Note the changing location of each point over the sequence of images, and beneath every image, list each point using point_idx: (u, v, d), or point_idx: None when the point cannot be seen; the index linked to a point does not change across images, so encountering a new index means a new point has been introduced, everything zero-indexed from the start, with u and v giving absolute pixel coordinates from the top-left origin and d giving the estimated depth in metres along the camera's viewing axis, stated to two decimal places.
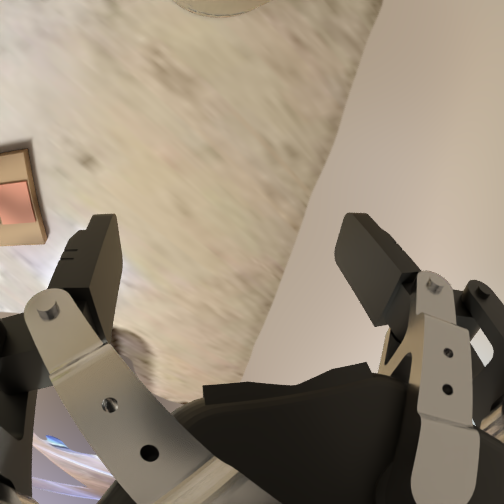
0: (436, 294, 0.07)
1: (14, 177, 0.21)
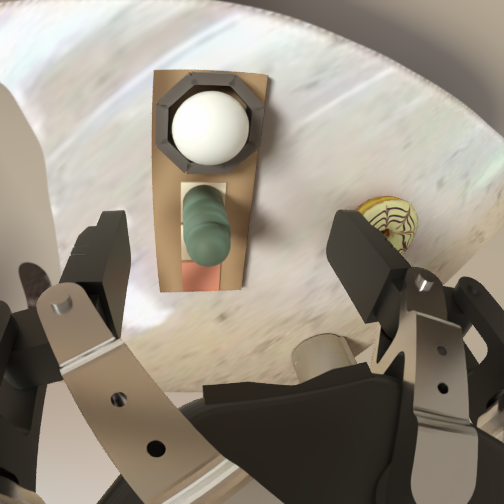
0: (425, 290, 0.07)
1: (223, 280, 0.37)
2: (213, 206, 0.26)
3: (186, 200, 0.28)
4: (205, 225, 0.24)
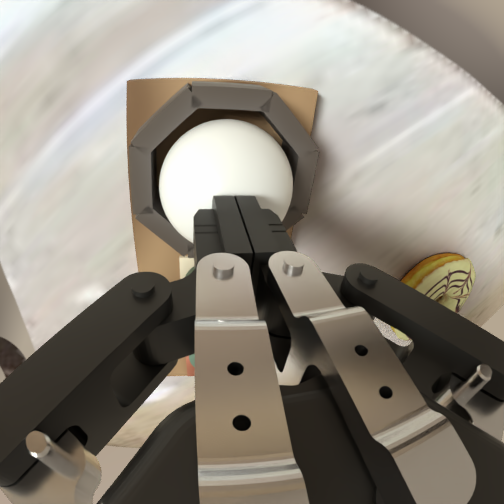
0: (287, 276, 0.07)
1: None
2: None
3: None
4: None
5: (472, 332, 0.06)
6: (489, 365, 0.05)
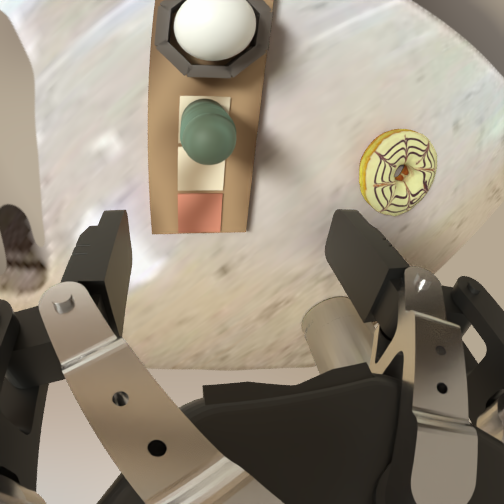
0: (424, 290, 0.07)
1: (225, 219, 0.32)
2: (217, 106, 0.21)
3: (186, 109, 0.23)
4: (207, 113, 0.19)
5: None
6: None
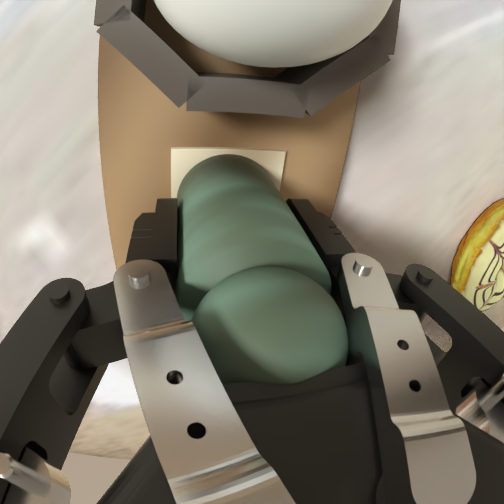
0: (360, 276, 0.07)
1: None
2: (278, 210, 0.08)
3: (187, 189, 0.10)
4: (271, 288, 0.06)
5: None
6: None
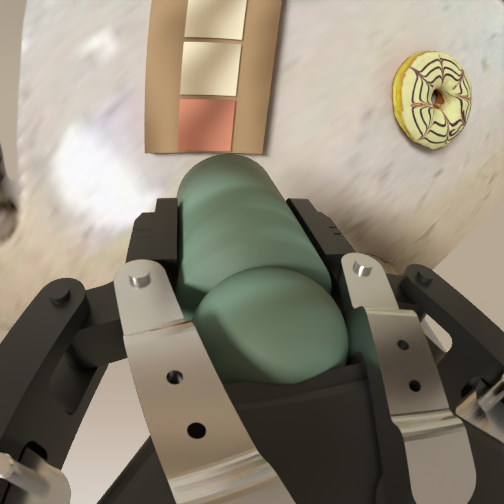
0: (360, 276, 0.07)
1: (237, 135, 0.25)
2: (278, 210, 0.08)
3: (187, 190, 0.10)
4: (271, 288, 0.06)
5: None
6: None
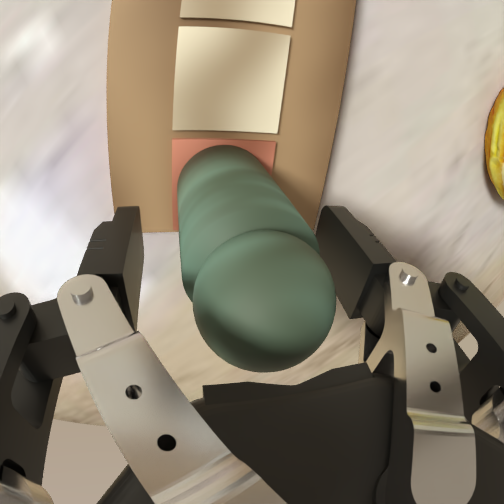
0: (408, 285, 0.07)
1: None
2: (270, 187, 0.09)
3: (188, 175, 0.11)
4: (266, 242, 0.07)
5: None
6: None
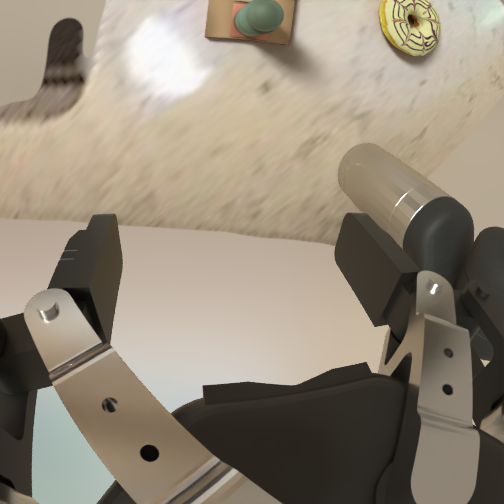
0: (436, 294, 0.07)
1: None
2: None
3: (240, 9, 0.26)
4: None
5: None
6: None
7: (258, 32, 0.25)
